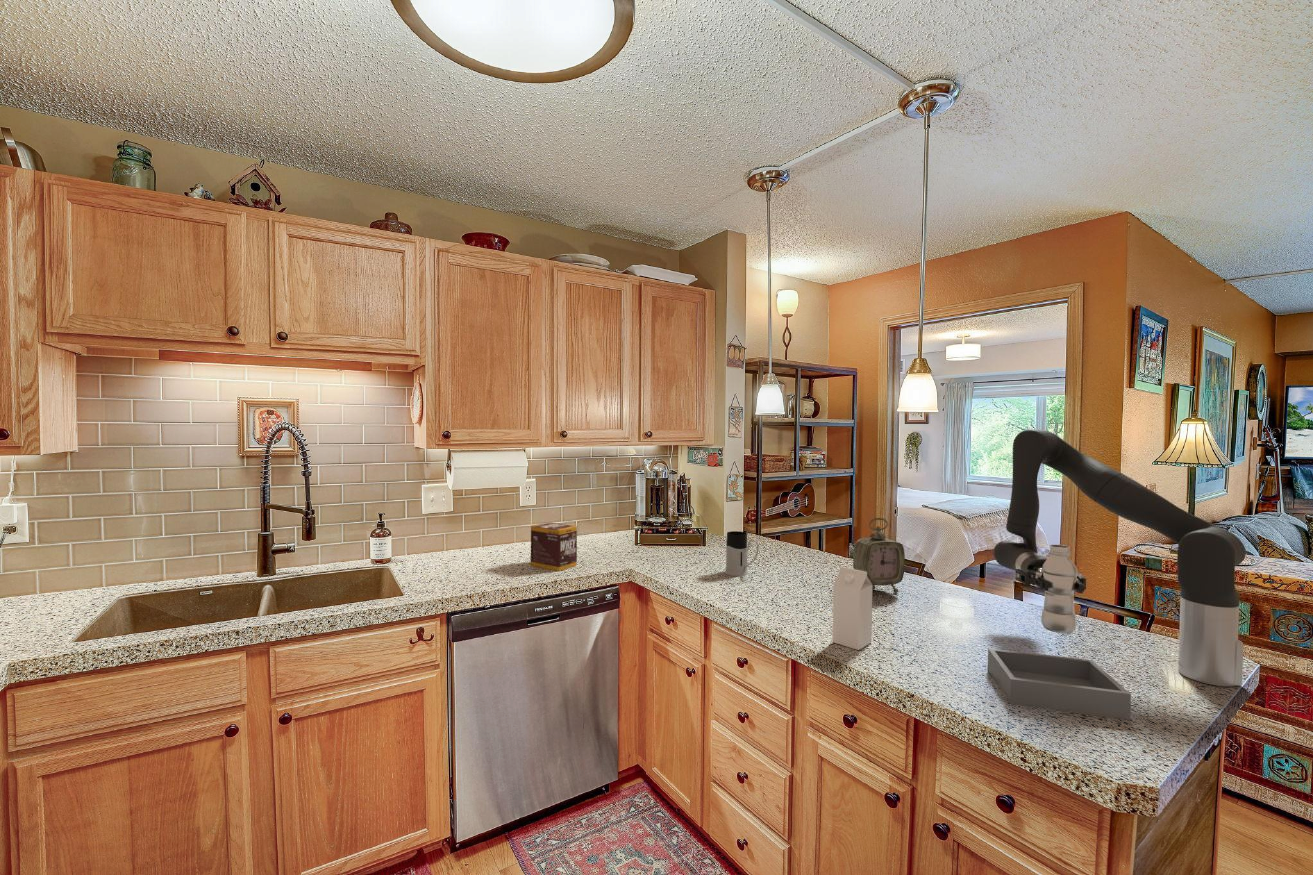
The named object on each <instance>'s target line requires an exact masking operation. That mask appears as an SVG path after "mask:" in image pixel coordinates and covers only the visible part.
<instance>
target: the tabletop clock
mask: <svg viewBox="0 0 1313 875" xmlns="http://www.w3.org/2000/svg"><path fill="white" fill-rule="evenodd" d="M878 520H879V521H884V522H885V523H886V525H885V526H884V527H881V526H879V525H877V526H876V528H875V527H872V526H871V524H872V523H873V522H874V521H878ZM868 526H869V528H870V530H873V532H872V533H871V534H870V537H863V538H859V539H858V540H856V541H855V542H854V544H853V545H854V546H853V552H852V553H853V554H852V564H853V565H852V567H853V568H852V569H855V570H860V571H865V572H867V577H868V579H869V580H870V582H871V583H872V591H875V590H876V586H891V587H892V588H893V590H892V591H893V593H894V594H897V593H899V589H898V588H897V587H896V586H895V585H897V584H899V583H901V582H902V581H903V578H904V576H905V575H904V574H905V567H906V566H905V564H906V558H905V557H906V555H905V553H906V552H905V547H904V545H903V544H902V543H900V542H899V541H898V542H897V541H894V540H891V539H889V538H887V535H886V534H885V533H884V532H883V531H884V530H885V529H887V527H888V526H889V522H888V520H887V519H885V518H883V517H874V518H872V519H871V520H870V521H869V522H868Z"/></svg>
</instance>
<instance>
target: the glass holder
mask: <svg viewBox="0 0 1313 875" xmlns="http://www.w3.org/2000/svg"><path fill="white" fill-rule="evenodd" d="M751 542H755V544H756V551H755V556H754V558H753V559H752V561H750V563H748V551H749V550H750V546H751ZM758 542H759V541H757V540H755V539H750V540H749V541H748V533H747V532H745V531H741V530H739V531H738V530H737V531H736V530H734V531H732V530H731V531H728V532H727V533H726V545H725V546H726V549H725V550H726V552H725V553H726V554H725V556H726V557H725V560H726V561H725V571H724V574H726V575H728V576H731V577H733V576H734V577H744V576H747V575H749V570H748V567H750V565H752V563H754V562H755V561H756V560H757V557H758V554H759V550H760V548H759V543H758Z"/></svg>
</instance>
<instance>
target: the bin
mask: <svg viewBox="0 0 1313 875" xmlns="http://www.w3.org/2000/svg"><path fill="white" fill-rule="evenodd" d="M987 671H988V673H989V674H990V676H991V677H992V679H993V680H994V682H995V684H996V685H997V686H998V688H999V689H1000V691H1001V692H1002V694H1003V695H1004V696H1005V698H1006V700H1007V701H1008V702H1009V704H1011V705H1017V706H1024V707H1031V708H1032V707H1033V708H1038V709H1047V710H1053V711H1061V712H1068V713H1076V714H1083V715H1090V716H1098V717H1103V718H1104V717H1105V718H1113V719H1119V720H1127V721H1130V720H1131V704H1132V703H1131V702H1132V694H1131V692H1129V690H1127V689H1126V688H1124V687H1123V686H1122V685H1121V684H1120V683H1119V682H1118V681H1116V680H1115V679H1114V678H1113V676H1111V675H1110V674H1108V672H1106V671H1105V670H1104V669H1103V668H1102V667H1100V665H1098V664H1097V662H1095V661H1094V660H1093V659H1085V658H1077V657H1067V656H1059V655H1052V654H1051V655H1050V654H1040V653H1032V652H1022V651H1016V650H1015V651H1014V650H1005V649H996V648H988V649H987Z"/></svg>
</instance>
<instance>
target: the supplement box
mask: <svg viewBox="0 0 1313 875" xmlns="http://www.w3.org/2000/svg"><path fill="white" fill-rule="evenodd" d="M577 553H578V526H577V525H572V524H571V525H570V524H563V523H556V522H545V523H541V524H536V525H535V524H534V525H530V562H529V563H530V566H533V567H537V568H542V569H548V570H552V571H557V572H561V571H565V570H568V569H569V568H573V567H576V566H578V565H577V564H578V562H577V560H578V558H577V557H578V554H577Z"/></svg>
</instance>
